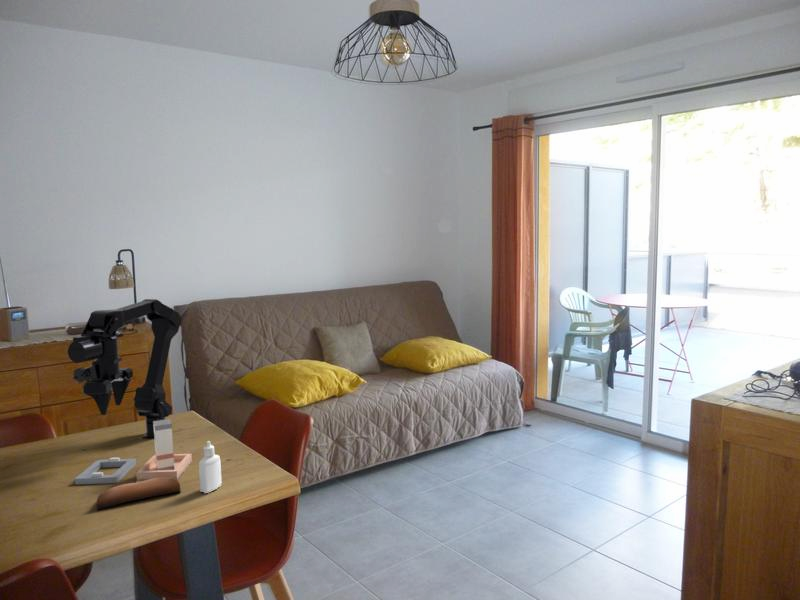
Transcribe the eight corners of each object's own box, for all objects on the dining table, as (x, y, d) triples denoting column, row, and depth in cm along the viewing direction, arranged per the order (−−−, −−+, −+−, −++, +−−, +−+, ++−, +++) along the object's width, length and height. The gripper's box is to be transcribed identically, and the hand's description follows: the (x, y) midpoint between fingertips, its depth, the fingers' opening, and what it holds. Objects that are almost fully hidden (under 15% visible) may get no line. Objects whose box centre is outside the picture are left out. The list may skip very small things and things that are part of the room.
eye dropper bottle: (225, 489, 142) (223, 441, 141) (202, 495, 139) (199, 446, 137) (219, 483, 145) (216, 436, 144) (196, 489, 142) (193, 441, 141)
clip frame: (97, 465, 158) (97, 457, 158) (136, 463, 159) (135, 455, 159) (75, 484, 146) (74, 475, 146) (116, 482, 147) (116, 474, 146)
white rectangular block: (156, 467, 154) (152, 421, 153) (172, 464, 156) (169, 418, 155) (157, 473, 150) (154, 426, 149) (174, 470, 152) (171, 423, 151)
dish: (154, 463, 159) (153, 454, 159) (191, 462, 159) (191, 453, 159) (137, 481, 147) (136, 472, 147) (177, 480, 147) (176, 471, 147)
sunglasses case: (176, 480, 147) (176, 463, 144) (180, 503, 142) (181, 486, 139) (96, 496, 139) (94, 478, 135) (97, 522, 134) (96, 504, 130)
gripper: (93, 349, 172) (97, 401, 174) (59, 363, 153) (64, 421, 155) (131, 348, 172) (135, 400, 174) (103, 362, 154) (107, 419, 156)
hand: (111, 409), depth 165 cm, fingers open, 9 cm apart
